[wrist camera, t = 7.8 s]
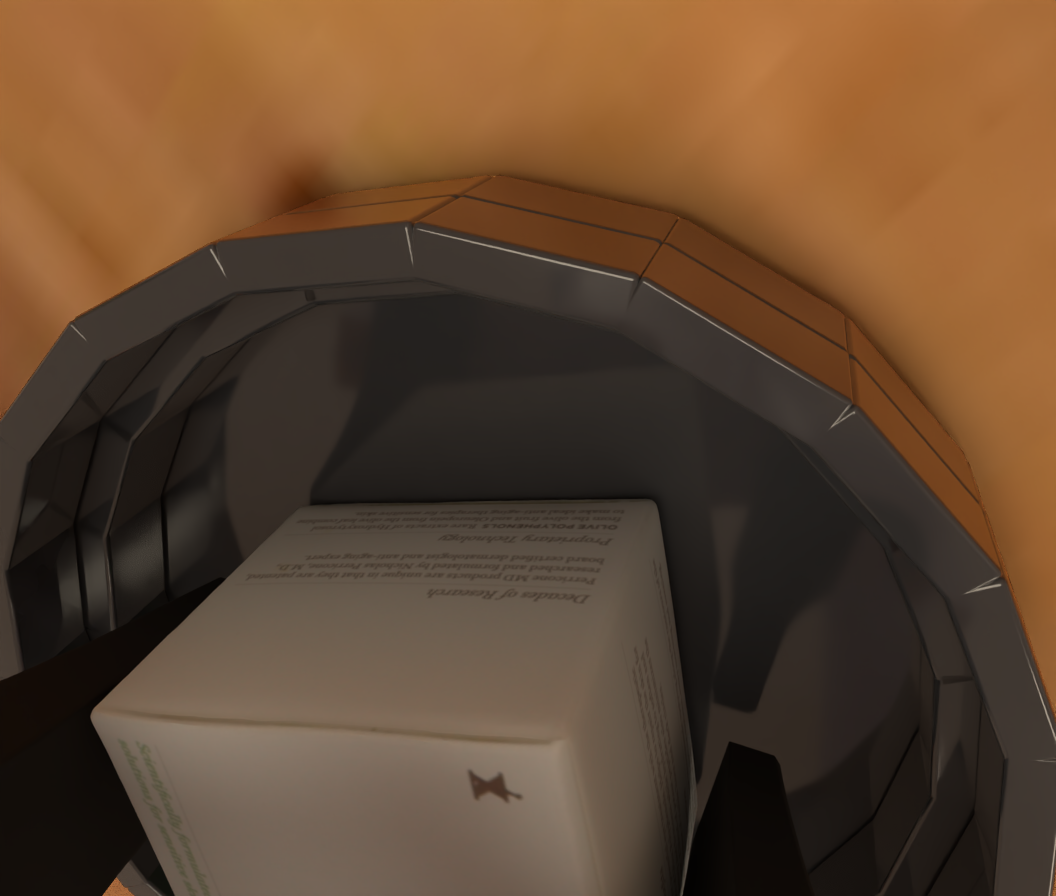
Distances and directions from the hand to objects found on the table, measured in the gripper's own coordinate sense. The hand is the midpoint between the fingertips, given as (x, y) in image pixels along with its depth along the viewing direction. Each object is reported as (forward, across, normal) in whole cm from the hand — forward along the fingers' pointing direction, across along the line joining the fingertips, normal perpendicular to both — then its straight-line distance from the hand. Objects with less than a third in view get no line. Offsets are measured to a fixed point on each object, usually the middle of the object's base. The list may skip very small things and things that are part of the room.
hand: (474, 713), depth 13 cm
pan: (+2, 0, 0) cm, 2 cm away
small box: (+2, 0, 0) cm, 2 cm away
